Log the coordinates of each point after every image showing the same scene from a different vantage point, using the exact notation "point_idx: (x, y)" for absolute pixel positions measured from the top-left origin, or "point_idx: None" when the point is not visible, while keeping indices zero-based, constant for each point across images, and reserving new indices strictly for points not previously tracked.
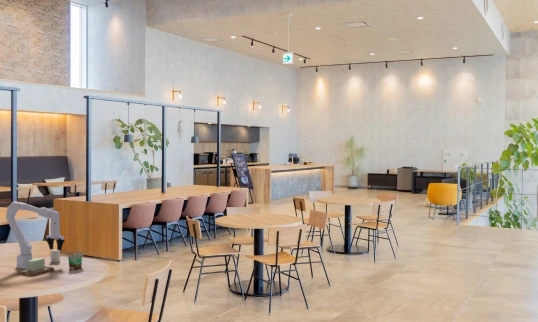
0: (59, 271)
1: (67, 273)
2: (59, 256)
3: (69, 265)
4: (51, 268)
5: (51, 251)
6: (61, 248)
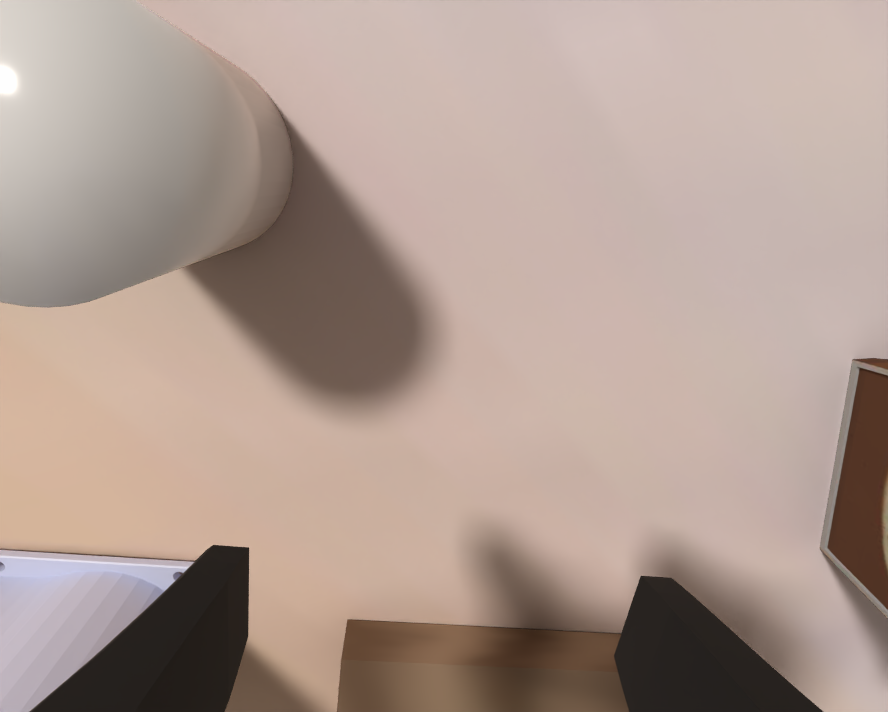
0: None
1: (876, 672)
2: (245, 108)
3: (883, 604)
4: None
5: (31, 305)
6: (709, 612)
